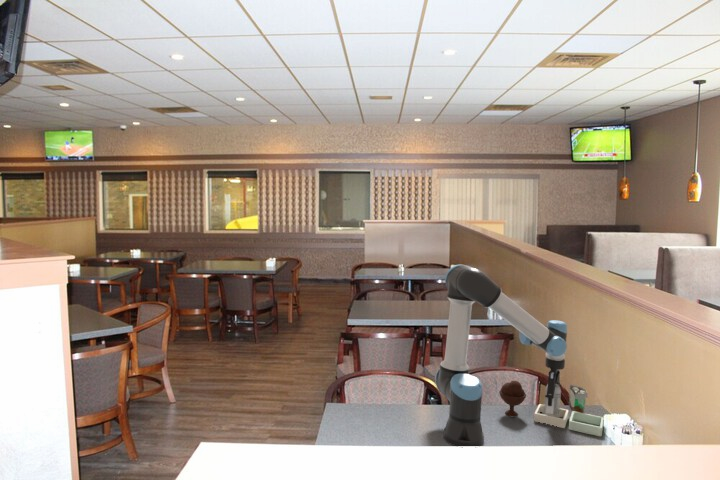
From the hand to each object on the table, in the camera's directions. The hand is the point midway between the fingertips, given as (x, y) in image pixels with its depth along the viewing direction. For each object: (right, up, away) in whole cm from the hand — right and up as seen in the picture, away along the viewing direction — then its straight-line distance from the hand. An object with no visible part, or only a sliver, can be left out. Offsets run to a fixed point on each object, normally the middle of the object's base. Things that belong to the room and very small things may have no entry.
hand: (552, 407), depth 215 cm
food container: (+15, -5, +10) cm, 19 cm away
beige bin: (0, -5, 0) cm, 5 cm away
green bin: (+12, -6, -6) cm, 15 cm away
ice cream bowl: (-16, -5, +5) cm, 17 cm away
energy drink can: (0, -5, 0) cm, 6 cm away
